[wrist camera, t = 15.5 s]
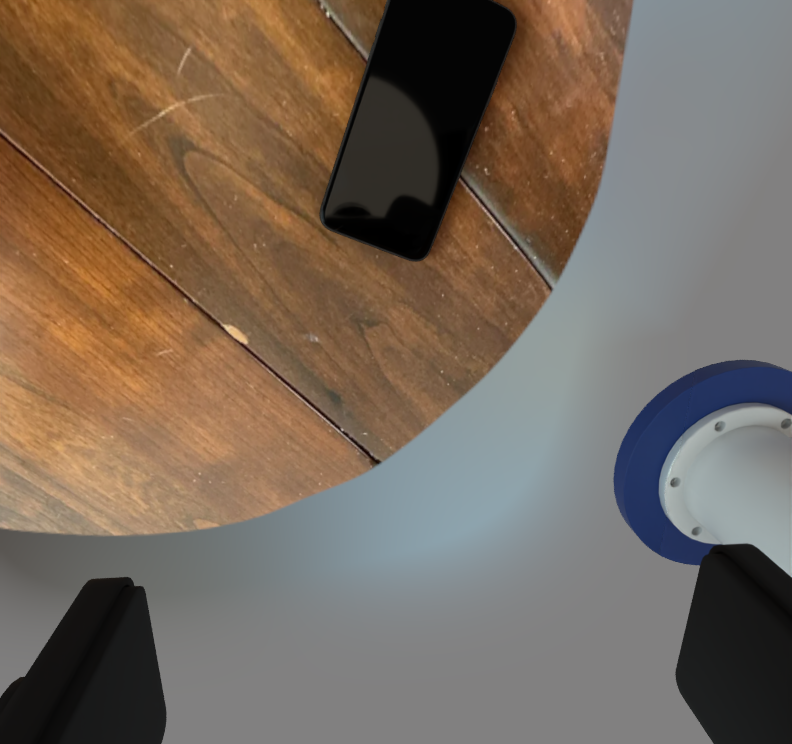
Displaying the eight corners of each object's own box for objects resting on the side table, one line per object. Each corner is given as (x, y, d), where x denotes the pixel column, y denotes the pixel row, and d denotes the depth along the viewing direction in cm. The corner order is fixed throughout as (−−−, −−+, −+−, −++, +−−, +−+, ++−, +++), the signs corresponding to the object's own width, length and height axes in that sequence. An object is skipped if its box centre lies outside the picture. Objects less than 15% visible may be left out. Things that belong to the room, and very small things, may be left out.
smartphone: (423, 265, 35) (520, 18, 31) (425, 267, 34) (525, 13, 30) (314, 224, 34) (400, -42, 29) (314, 225, 33) (402, -48, 29)
